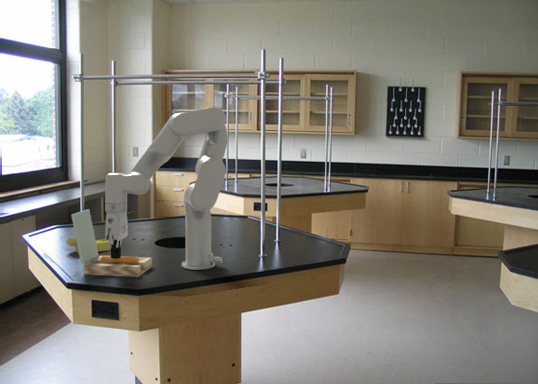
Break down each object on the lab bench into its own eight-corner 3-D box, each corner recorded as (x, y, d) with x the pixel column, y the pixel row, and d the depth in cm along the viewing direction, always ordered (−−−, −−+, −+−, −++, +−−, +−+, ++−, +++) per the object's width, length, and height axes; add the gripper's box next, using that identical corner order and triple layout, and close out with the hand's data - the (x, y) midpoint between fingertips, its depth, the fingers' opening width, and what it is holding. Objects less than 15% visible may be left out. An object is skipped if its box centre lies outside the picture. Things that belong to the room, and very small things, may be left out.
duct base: (151, 266, 205) (151, 257, 204) (138, 276, 191) (137, 267, 190) (101, 264, 207) (101, 255, 207) (84, 274, 193) (83, 264, 193)
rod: (137, 261, 195) (139, 264, 197) (138, 255, 196) (140, 258, 198) (98, 260, 196) (101, 263, 198) (100, 254, 198) (103, 257, 200)
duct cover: (89, 209, 204) (86, 209, 204) (73, 214, 192) (71, 214, 192) (98, 255, 206) (96, 256, 206) (83, 263, 194) (81, 263, 194)
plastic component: (103, 239, 241) (115, 232, 235) (106, 255, 240) (119, 248, 234) (62, 243, 226) (74, 236, 220) (65, 260, 224) (78, 253, 218)
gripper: (117, 211, 186) (117, 263, 188) (134, 205, 201) (133, 254, 203) (97, 209, 187) (96, 262, 189) (114, 204, 202) (114, 252, 204)
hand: (115, 257), depth 196 cm, fingers closed
